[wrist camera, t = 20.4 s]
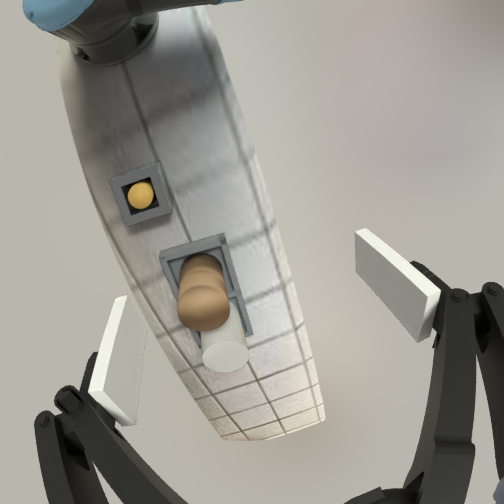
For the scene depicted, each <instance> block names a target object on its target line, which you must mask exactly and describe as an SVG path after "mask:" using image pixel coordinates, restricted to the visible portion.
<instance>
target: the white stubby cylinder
mask: <svg viewBox="0 0 504 504" xmlns="http://www.w3.org/2000/svg"><path fill="white" fill-rule="evenodd" d="M229 304H230V316H229V318H228V320H227V321H226V322H225V323H224V324H223V325H222V326H221V327H219V328H217V329H215V330H212V331H206V332H202V331H200V332H201V346H202V359H203V363H204V365H205V366H206V367H207V368H209V369H210V370H212V371H215V372H222V373H225V372H232V371H235V370H238V369H240V368H241V367H243V366H244V365H245V364H246V362H247V361H248V359H249V352H248V348H247V344H246V340H245V336H244V331H243V327H242V323H241V319H240V315H239V311H238V308H237V307H236V306H235V305H234V304H233V303H232V302H230V301H229Z"/></svg>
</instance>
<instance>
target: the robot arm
mask: <svg viewBox="0 0 504 504" xmlns="http://www.w3.org/2000/svg"><path fill="white" fill-rule="evenodd" d="M235 1H243V0H23V11H24V14H25V16H26V17H27V19H28V20H29V21H31V22H32V23H34V24H35V25H36V26H37V27H38V28H40V29H41V30H43V31H47V32H49V33H51V34H54V35H56V36H58V37H60V38H63V39H65V40H67V41H69V43H70V46H71V49H72V51H73V52H74V54H75V55H76V56H77V57H78V58H79V59H81V60H82V61H84V62H86V63H89V64H91V65H95V66H112V65H116V64H119V63H122V62H124V61H126V60H128V59H130V58H132V57H133V56H135V55H136V54H138V53H139V52H140V51H141V50H142V49H143V48H144V47H145V46H146V45H147V44H148V43H149V42H150V40H151V39H152V37H153V35H154V33H155V31H156V29H157V25H158V20H159V15H158V12H160V11H165V10H171V9H177V8H183V7H190V6H198V5H208V4H211V5H218V4H222V3H224V2H235ZM354 233H355V255H356V272H357V274H358V275H359V276H360V277H361V278H362V279H363V280H364V281H365V282H366V283H367V285H368V286H369V287H370V288H371V289H372V290H373V291H374V292H375V294H376V295H377V296H378V297H379V298H380V299H381V300H382V301H383V303H384V304H385V305H386V306H387V307H388V308H389V310H390V311H391V312H392V313H393V314H394V315H395V317H396V318H397V319H398V320H399V321H400V322H401V323H402V325H403V326H404V327H405V328H406V330H407V331H408V332H409V333H410V334H411V336H412V337H413V338H414V339H415V340H416V342H417V343H418V342H420V341H422V340H424V339H426V338H428V337H430V334H431V330H432V327H433V328H434V329H435V330H436V332H437V333H436V337H435V340H434V344H433V347H432V348H434V347H435V349H434V359H433V368H432V376H431V382H430V389H429V395H428V401H427V407H426V412H425V417H424V421H423V426H422V430H421V435H420V439H419V443H418V447H417V451H416V454H415V458H414V461H413V464H412V467H411V469H410V471H409V473H408V475H407V477H406V480H405V482H404V485H403V488H402V489H401V488H400V489H399V488H393V489H385V490H381V487H378V488H376V489H374V490H372V491H369V492H367V493H364V494H362V495H360V496H357V497H355V498H352V499H351V500H349V501H348V502H346V503H344V504H464V502H465V499H466V495H467V491H468V487H469V483H470V478H471V473H472V469H473V463H474V458H475V445H474V444H473V443H472V442H471V438H472V429H473V421H474V409H475V394H476V355H477V358H478V362H479V366H480V370H481V373H482V378H483V382H484V386H485V391H486V395H487V400H488V405H489V410H490V417H491V423H492V430H493V438H494V447H495V458H496V466H497V471H498V476H499V479H500V481H499V483H498V485H497V488H496V490H495V492H494V494H493V498H494V500H495V501H496V504H504V289H503V287H502V286H501V285H499V284H497V283H495V282H487V283H485V284H484V285H483V287H482V291H481V292H479V293H474V294H469V293H468V292H467V291H465V290H463V289H458V288H455V289H451V288H450V287H449V286H448V285H447V284H445V283H444V282H443V281H442V280H441V279H440V278H438V277H437V276H436V275H434V273H432V272H431V271H429V269H428V268H426V267H425V266H424V265H423V264H420V263H418V262H415V261H412V262H410V263H409V262H407V261H406V260H405V259H404V258H403V257H401V256H400V255H399V254H398V253H396V252H395V251H394V250H393V249H392V248H390V247H389V246H388V245H387V244H385V243H384V242H383V241H381V240H380V239H379V238H378V237H376V236H375V235H374V234H373V233H371V232H370V231H369V230H367V229H366V228H365V229H361V230H358V231H355V232H354ZM146 334H147V330H146V328H145V326H144V325H143V323H142V321H141V319H140V318H139V316H138V314H137V312H136V310H135V308H134V306H133V305H132V303H131V301H130V299H129V297H128V295H126V296H121V297H118V298H116V299H115V302H114V305H113V308H112V311H111V314H110V317H109V320H108V323H107V326H106V329H105V332H104V336H103V339H102V342H101V345H100V349H99V351H98V352H93V354H92V355H91V357H90V358H89V360H88V363H87V366H86V370H85V373H84V377H83V380H82V383H81V387H80V391H78V390H77V389H76V388H75V387H74V386H71V385H68V386H65V387H63V388H61V389H60V390H59V391H58V392H57V394H56V396H55V399H54V403H55V406H56V407H57V408H58V409H59V410H60V411H62V413H61V414H59V415H56V416H55V415H54V414H53V413H51V412H50V411H47V410H46V411H42V412H41V413H40V414H39V415H38V416H37V417H36V419H35V423H34V428H35V437H36V444H37V450H38V457H39V462H40V468H41V473H42V477H43V482H44V486H45V490H46V494H47V498H48V502H49V504H109V503H108V501H107V498H106V496H105V493H104V491H103V489H102V486H101V484H100V481H99V479H98V476H97V473H96V471H95V468H94V465H93V462H94V464H95V465H96V467H97V468H98V470H99V471H100V473H101V474H102V475H103V477H104V478H105V480H106V481H107V483H108V484H109V485H110V487H111V488H112V489H113V490H114V492H115V493H116V494H117V496H118V497H119V498H120V500H121V501H122V502H123V503H124V504H188V503H187V502H186V501H185V500H183V499H182V498H181V497H180V496H179V495H178V494H177V493H176V492H174V490H173V489H171V488H170V487H169V486H168V485H167V484H166V483H165V482H164V481H163V480H162V479H161V478H160V477H159V476H158V475H157V474H156V473H155V472H154V471H153V470H152V469H151V467H150V466H149V465H148V464H147V463H146V462H145V461H144V460H143V459H142V458H141V457H140V455H139V454H138V453H137V452H136V451H135V450H134V449H133V447H132V446H131V445H130V444H129V443H128V442H127V440H126V439H125V438H124V437H123V436H122V434H121V433H120V432H119V431H118V430H117V429H116V428H115V420H116V421H117V422H118V423H119V424H120V425H121V426H132V425H136V421H137V409H138V398H139V389H140V379H141V371H142V363H143V355H144V348H145V341H146ZM92 461H93V462H92Z"/></svg>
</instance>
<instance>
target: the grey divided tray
mask: <svg viewBox="0 0 504 504" xmlns="http://www.w3.org/2000/svg"><path fill="white" fill-rule="evenodd" d="M195 253H208V254H211V255H213V256H215V257H216V258H217V259H218V260H219V261H220V263H221V265H222V268H223V273H224V278H225V283H226V289H227V294H228V299H229V301H230V302H232V303H233V304H234V305H235V306H236V307H237V308H238V311H239V315H240V319H241V323H242V327H243V331H244V336H245V337H246V336H250V335H254V334H253V331H252V327H251V324H250V320H249V317H248V314H247V310H246V307H245V304H244V300H243V297H242V294H241V290H240V287H239V283H238V280H237V276H236V273H235V270H234V266H233V263H232V259H231V256H230V252H229V249H228V245H227V242H226V238H225V235H224V233H222V234H218V235H214V236H211V237H207V238H204V239H200V240H197V241H193V242H190V243H186V244H183V245H179V246H176V247H172V248H169V249H166V250H162V251H160V256H159V259H160V261H161V264H162V266H163V269H164V271H165V273H166V276H167V278H168V280H169V283H170V285H171V287H172V290H173V292H174V294H175V297H176V299H177V301H178V293H179V278H180V268H181V265H182V263H183V261H184V260H185V259H186V258H187V257H189V256H190V255H192V254H195ZM191 332H192V334H193V336H194V338H195V340H196V342H197V344H198V346H199V348H202V346H201V332H200V331H195V330H192V329H191Z"/></svg>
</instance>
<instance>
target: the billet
mask: <svg viewBox="0 0 504 504" xmlns="http://www.w3.org/2000/svg"><path fill="white" fill-rule="evenodd" d="M178 316H179V319H180V321H181V322H182V323H183V324H184V325H185V326H186V327H188V328H190V329H192V330H195V331H202V332H206V331H212V330H215V329H217V328H219V327H221V326H222V325H223V324H224V323H225V322H226V321H227V320H228V318H229V316H230V304H229V299H228V294H227V289H226V283H225V278H224V273H223V268H222V265H221V263H220V261H219V260H218V259H217V258H216V257H215V256H213V255H211V254H208V253H195V254H192V255H190V256H189V257H187V258H186V259H185V260H184V261H183V263H182V265H181V268H180V278H179V293H178Z"/></svg>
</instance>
